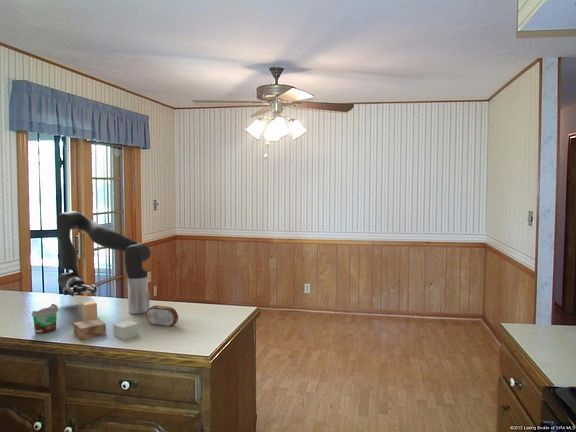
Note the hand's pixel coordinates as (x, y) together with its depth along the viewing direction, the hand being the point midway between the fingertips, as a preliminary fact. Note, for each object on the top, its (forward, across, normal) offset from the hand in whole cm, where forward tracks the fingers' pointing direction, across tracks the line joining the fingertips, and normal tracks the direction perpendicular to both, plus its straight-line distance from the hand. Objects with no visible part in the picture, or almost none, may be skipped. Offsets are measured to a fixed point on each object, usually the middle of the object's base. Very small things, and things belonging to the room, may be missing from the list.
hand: (83, 292), depth 211 cm
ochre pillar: (+12, 0, +12) cm, 17 cm away
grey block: (+35, +9, +12) cm, 38 cm away
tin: (+31, +26, +12) cm, 42 cm away
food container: (+10, -16, +12) cm, 22 cm away
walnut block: (+25, -3, +12) cm, 28 cm away
